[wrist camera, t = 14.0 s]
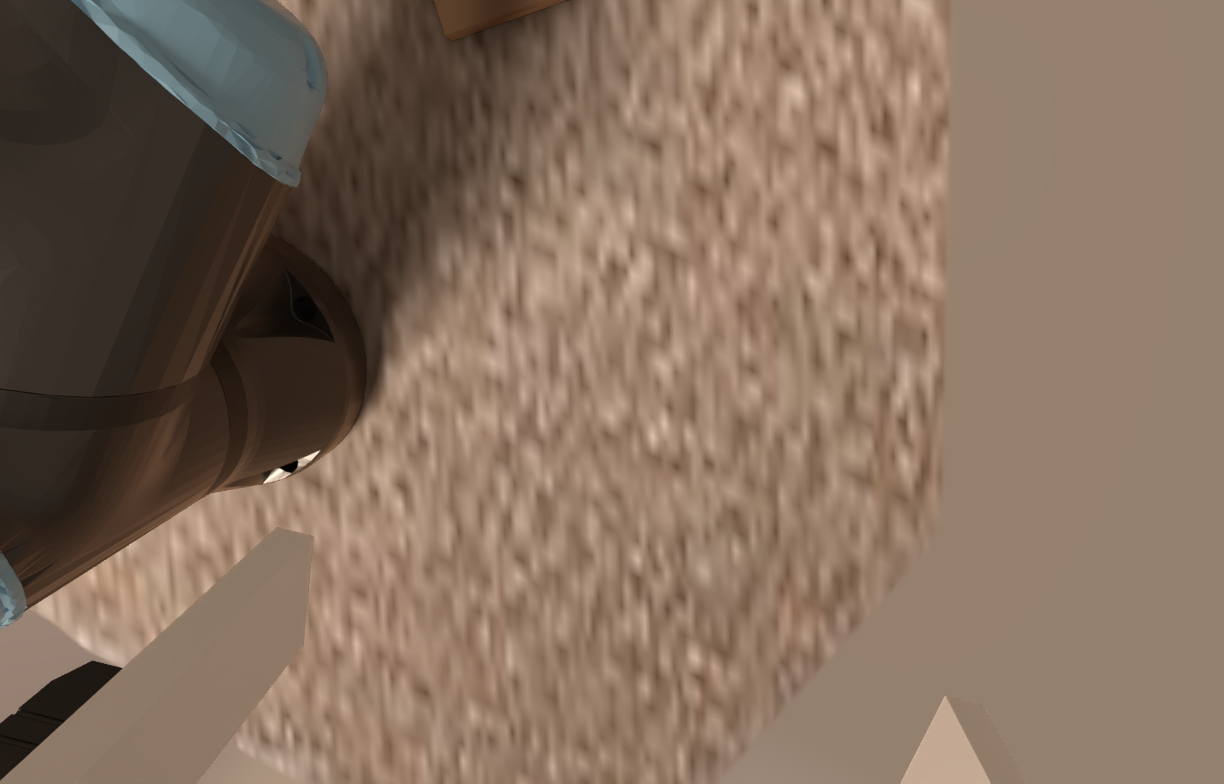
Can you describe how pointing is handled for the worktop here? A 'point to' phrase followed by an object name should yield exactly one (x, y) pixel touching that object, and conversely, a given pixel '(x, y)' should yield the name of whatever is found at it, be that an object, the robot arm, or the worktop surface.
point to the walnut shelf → (483, 14)
